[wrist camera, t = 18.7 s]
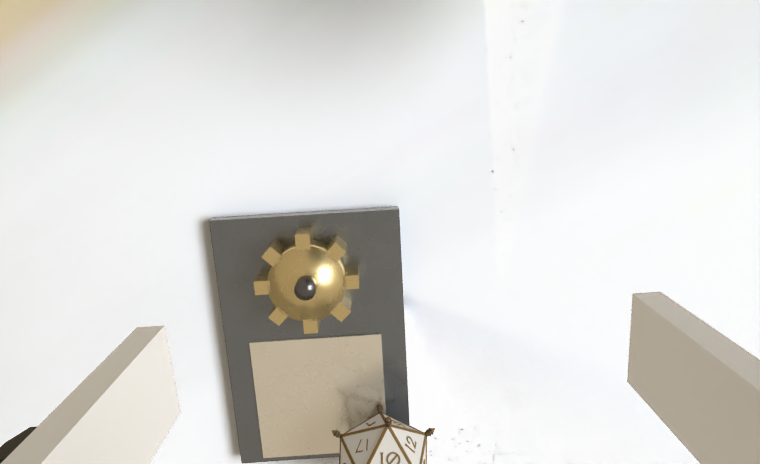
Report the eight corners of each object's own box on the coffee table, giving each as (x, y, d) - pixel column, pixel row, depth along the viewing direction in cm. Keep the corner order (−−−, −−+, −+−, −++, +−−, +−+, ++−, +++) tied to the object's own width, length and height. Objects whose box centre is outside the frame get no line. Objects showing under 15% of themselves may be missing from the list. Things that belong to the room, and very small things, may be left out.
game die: (300, 463, 45) (397, 524, 46) (298, 502, 37) (416, 575, 37) (356, 373, 47) (449, 432, 47) (366, 390, 38) (479, 462, 39)
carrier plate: (213, 217, 42) (194, 231, 37) (398, 206, 43) (402, 218, 38) (244, 454, 47) (231, 493, 43) (409, 443, 48) (414, 480, 43)
